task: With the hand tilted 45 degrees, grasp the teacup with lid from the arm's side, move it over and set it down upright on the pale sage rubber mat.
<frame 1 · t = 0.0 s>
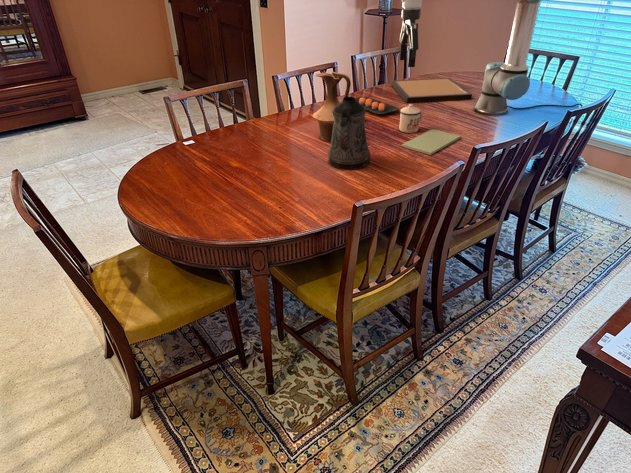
hand: (406, 63, 188), 28 cm above the table, tool pointing down, fingers open, 13 cm apart
beer stein: (349, 163, 171), on the table
sushi plate: (360, 111, 223), on the table
teacup with lid: (410, 129, 200), on the table
cork board: (429, 92, 248), on the table
pitcher: (332, 138, 194), on the table
mat: (431, 142, 186), on the table
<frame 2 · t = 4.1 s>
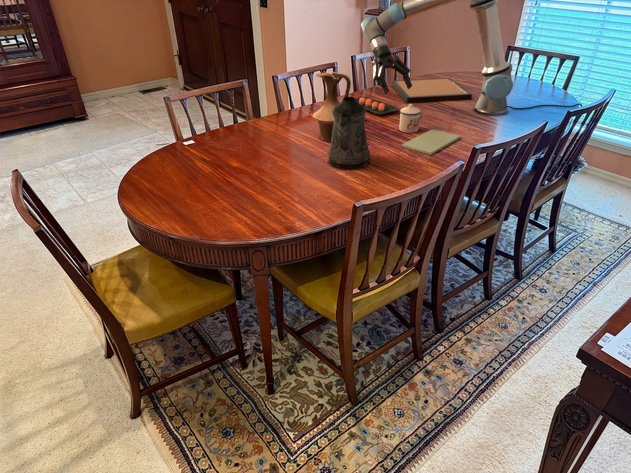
hand: (399, 90, 198), 15 cm above the table, tool tilted 45°, fingers open, 13 cm apart
nothing on the table moved.
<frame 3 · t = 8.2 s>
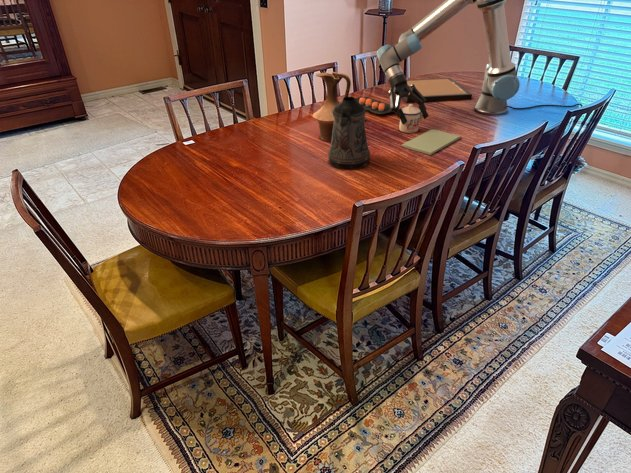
hand: (415, 120, 195), 5 cm above the table, tool tilted 45°, fingers closed on teacup with lid, 12 cm apart
teacup with lid: (411, 129, 200), on the table, touching gripper
everything else where it was.
when the fingers open (6 cm above the table, at t = 16.9 s): teacup with lid stays where it is, resting on mat.
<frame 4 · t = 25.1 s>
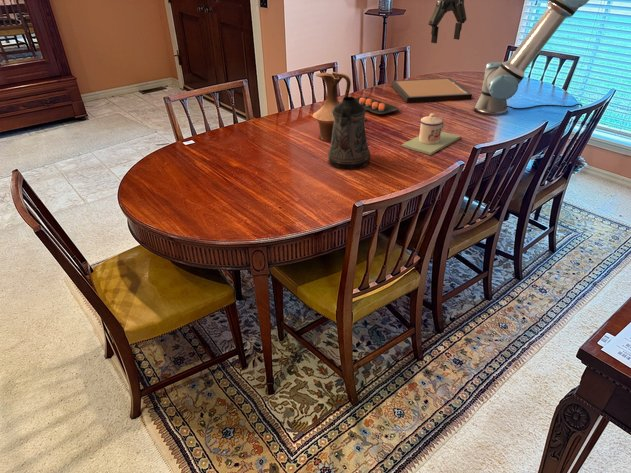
hand: (445, 41, 192), 35 cm above the table, tool pointing down, fingers open, 13 cm apart
teacup with lid: (431, 140, 185), point 1 cm above the table, touching mat
everything else where it was.
at the end: teacup with lid inside the target area on the mat (0.0 cm from its centre), point 0.8 cm above the mat's base; teacup with lid tilted 0°; the gripper is holding nothing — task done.
